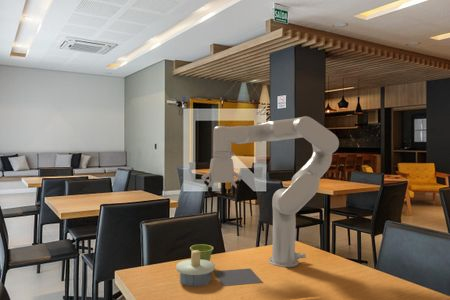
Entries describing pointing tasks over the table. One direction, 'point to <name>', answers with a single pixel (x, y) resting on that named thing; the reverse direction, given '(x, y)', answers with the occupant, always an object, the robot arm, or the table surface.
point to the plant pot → (203, 251)
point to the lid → (195, 265)
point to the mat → (237, 277)
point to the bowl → (195, 279)
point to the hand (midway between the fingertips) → (221, 196)
